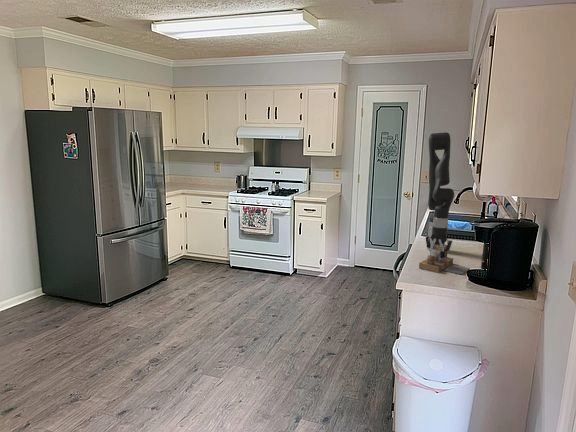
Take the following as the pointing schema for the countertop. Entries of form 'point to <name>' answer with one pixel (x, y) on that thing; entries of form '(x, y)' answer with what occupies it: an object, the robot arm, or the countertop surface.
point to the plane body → (436, 263)
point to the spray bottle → (484, 256)
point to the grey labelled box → (436, 253)
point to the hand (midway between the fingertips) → (437, 257)
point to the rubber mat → (457, 269)
